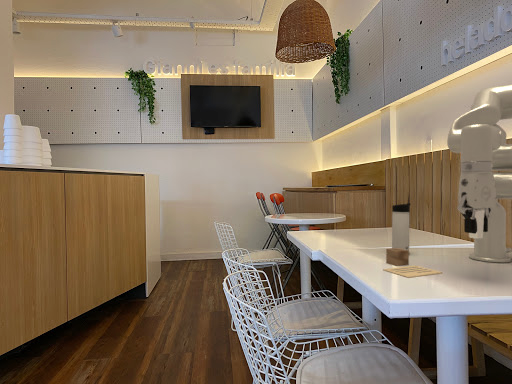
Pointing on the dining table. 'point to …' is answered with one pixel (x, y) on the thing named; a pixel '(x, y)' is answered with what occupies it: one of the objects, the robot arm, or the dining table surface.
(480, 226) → the milkshake
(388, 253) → the walnut block
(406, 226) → the travel mug
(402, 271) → the letter
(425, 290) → the dining table surface
